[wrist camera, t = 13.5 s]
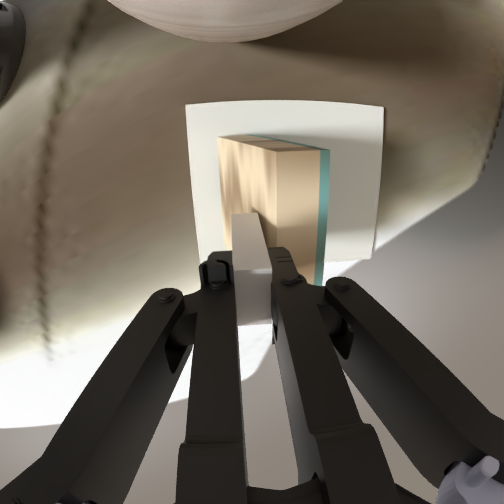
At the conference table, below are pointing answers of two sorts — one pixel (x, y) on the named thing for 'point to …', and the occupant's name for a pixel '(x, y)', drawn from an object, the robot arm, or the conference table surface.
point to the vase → (224, 17)
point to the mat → (305, 132)
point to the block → (278, 195)
